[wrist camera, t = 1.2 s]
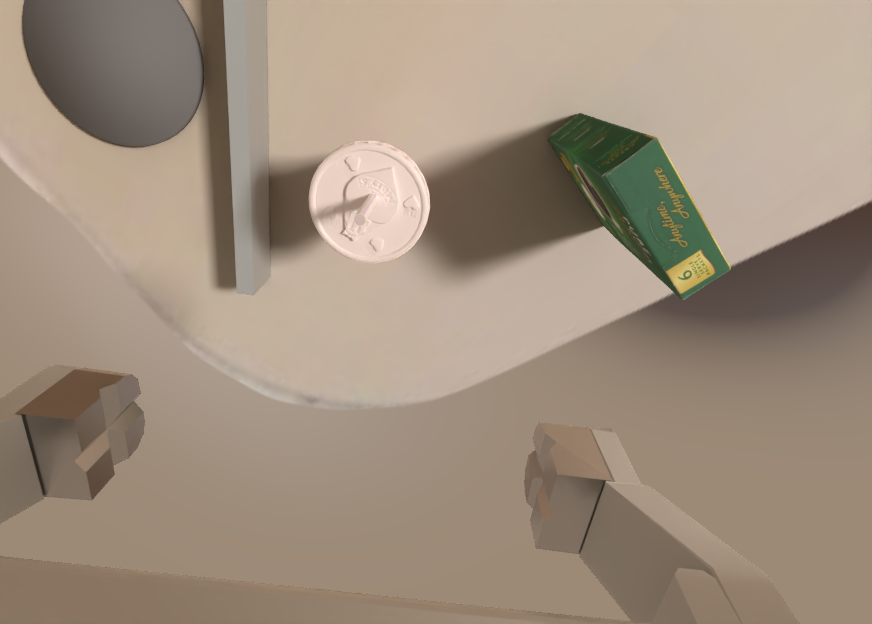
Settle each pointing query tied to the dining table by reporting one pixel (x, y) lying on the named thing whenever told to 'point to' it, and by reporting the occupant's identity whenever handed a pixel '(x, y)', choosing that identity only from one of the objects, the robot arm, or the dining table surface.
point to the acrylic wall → (248, 139)
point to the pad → (117, 65)
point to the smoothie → (369, 201)
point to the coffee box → (641, 201)
